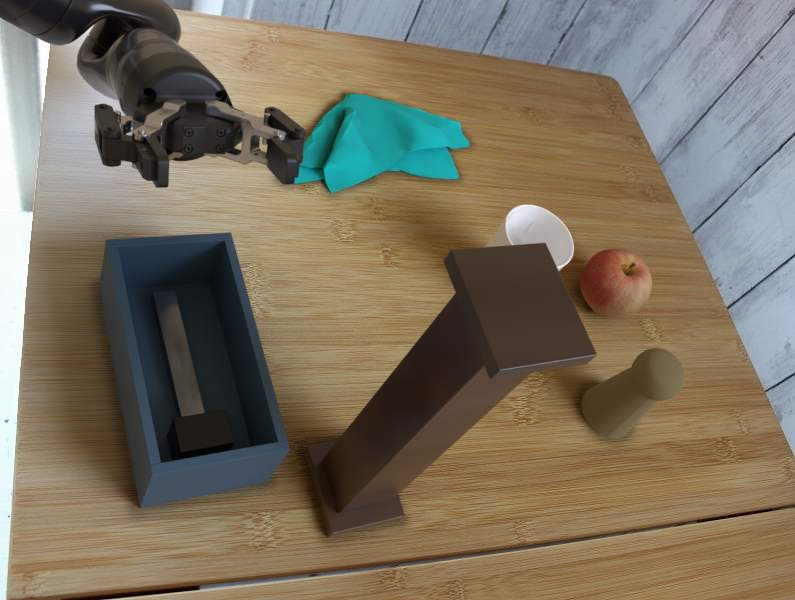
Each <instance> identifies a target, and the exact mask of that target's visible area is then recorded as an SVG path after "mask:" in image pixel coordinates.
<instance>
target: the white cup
mask: <svg viewBox="0 0 795 600" xmlns="http://www.w3.org/2000/svg"><path fill="white" fill-rule="evenodd" d="M534 243H546V245H547V247H548V249H549V251H550V253H551V255H552V258H553V260H554V262H555V264H556V266H557V268H558V271H559V272H560V271H561V270H563V269H564V268H565V267H566V266H567V265H568V263H570V262H571V260H572V259H573V256H574V252H575V251H574V250H575V245H574V239H573V236H572V234H571V232H570V230H569V229H568V227H567V225H566V224H565V223H564V222H563V221H562V219H560V217H558V216H557V215H555V214H554V213H553V212H551V211H550V210H548V209H546V208H544V207H542V206H538V205H536V204H530V203H529V204H519V205H516V206H514V207H512V208H511V209H510V210H509V211H508V213H506V215H505V217H504V218H503V220H502V221H501V222H500V224H499V226H498V227H497V229H496V230H495V231H494V233H493V234H492V236H491V237H490V238H489V240H488V241H487V243H486V244H485V246H484V247H494V246H508V245H521V244H534Z"/></svg>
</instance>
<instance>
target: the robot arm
mask: <svg viewBox="0 0 795 600" xmlns="http://www.w3.org/2000/svg"><path fill="white" fill-rule="evenodd" d="M0 19H2V20H4V21H5V22H7V23H9V24H10V25H13V26H15V27H16V28H17V29H20V30H21V31H24V32H26V33H27V34H29V35H31V36H32V37H34V38H37V39H38V40H41V41H43V42H44V43H47V44H50V45H53V46H60V47H61V46H66V45H69V44H71V43H73V42H75V41H76V40H78V39H79V38H80V37H81V36H83V35H84V34H85V33H86V32H87V31H89V32H88V35H86V37H85V38H84V40H83V42H82V43H81V45H80V47H79V49H78V52H77V54H76V68H77V70H78V74H79V75H80V76H81V78H82V79H83V80H84V82H86V84H87V85H89V86H90V87H91V88H92V89H93V90H94V91H96V92H98V93H99V94H101V95H102V96H105V97H107V98H109V99H112V100H115V101H117V102H118V103H119V106H120V109H121V111H120V110H115V109H114V108H113V106H112V105H110V104H107V103H97V104H95V105H94V106H93V108H94V109H93V110H94V113H93V114H94V115H93V116H94V141H95V144H96V148H97V151H98V154H99V157H100V160H101V163H102V165H103V166H104V167H105V166H106V167H110V168H117V167H120V166H121V165H122V162H128V163H131V167H132V169H135V170H137V171H138V172H139V175H140V176H141V178H142V179H143V180H145V181H146V182H152V184H153V185H154V187H155V188H156V189H162V188H164V189H166V188H169V184H170V183H169V181H170V162H171V161H173V162H191V161H195V160H198V159H202V158H204V157H206V156H208V157H211V158H219V157H221V158H223V159H226V160H229V161H233V162H235V163H239V164H241V165H244V166H245V165H250V164H251V163H254V162H255V163H259V164H261V165H264V166H266V168H267V170H269V171H270V172H271V173H272V174H273V175H274V177H275V178H276V180H278V181H279V182H280V183H281V185H283V186H284V185H285V186H287V185H294V184H295V183H294V181H295V178H298V177H299V167H300V164H301V163H303V149H304V142H305V141H306V140H305V139H306V136H307V130H306V128H304V127H302V126H301V125H300V124H299V123H297V122H296V121H295V120H294V119H293V118H291V117H290V116H289V115H287V114H286V113H285V112H284V111H282V110H281V109H280V108H278V107H275V106H268V107H267V106H266V107H265V108H264V112H263V116H257V115H254V114H251V113H247V112H245V111H243V110H241V109H238V108H237V107H234V105H233V103H232V99H231V98H230V96H229V93H228V91H227V90H226V87H225V86H224V84H223V83H222V82H221V81H220V80H219V78H217V76H215V75H214V73H212V72H211V70H210V69H209V68H207V66H205V65H204V64H203V63H202V61H201V60H200V59H199V58H197V57H196V55H194V54H193V53H191V52H190V51H189V50H187V49H185V48H183V46H181V44H180V40H181V37H182V25H181V22H180V19H179V17H178V15H177V13H176V11H175V10H174V9H173V8H172V7H171V5H170V4H169V3H167V2H166V1H164V0H0ZM89 29H90V30H89ZM122 113H123V114H124V115H122ZM129 133H131V135H130V134H129ZM260 143H261V145H264V146H266V151H263V150H262V149H261V147H260ZM239 144H241V149H239V148H236V147H237V146H238V145H239Z"/></svg>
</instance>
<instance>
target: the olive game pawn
mask: <svg viewBox="0 0 795 600" xmlns="http://www.w3.org/2000/svg"><path fill="white" fill-rule="evenodd" d="M685 382H686V371H685V367H684V365H683V363H682V362H681V361H680V360H679V358H678V357H677V355H675V354H674V353H672V352H671V351H669V350H668V349H665V348H660V347H653V348H648V349H645V350H643V351H642V352H640V353H639V354H638V355H637V356H636V358H635V359H634V360H633V362H632V363H631V366H630V367H629V368H626V369H625V370H622V371H621V372H619V373H617V374H615V375H613V376H610V377H609V378H607V379H605V380H603V381H601V382H599V383H598V384H596V385H594V386H591V387H590V388H589V389H587V390H586V391H585V392H584V393H583V395H582V397H581V402H580V406H581V413H582V415H583V418H584V420H585V422H586V423H587V424H588V426H589V427H590V428H591V429H592V430H593V431H594V432H595V433H596V434H598V435H600V436H601V437H603V438H605V439H611V440H615V439H621V438H622V437H624V436H625V435H627V433H629V432H630V430H632V428H634V427H635V426H636V425H637V424H638V422H640V421H641V420H642V419H643V418H644V417H645V416H646V415H647V414H648V413H649V412H650V411H651V410H652V409H653V407H654V406H656V405H657V403H658V402H662V401H663V402H664V401H668V400H671V399H673V398H674V397H676V396H677V395H678V394H680V393H681V391H682V390H683V388H684V386H685Z"/></svg>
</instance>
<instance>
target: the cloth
mask: <svg viewBox="0 0 795 600" xmlns="http://www.w3.org/2000/svg"><path fill="white" fill-rule="evenodd" d="M470 144H471V143H470V141H469V140H468V138H467V137H466V135H465V134H464V133H463V130H462V125H461V122H459V121H457V120H455V119H452V118H451V119H450V118H447V117H446V116H445V117H444V116H441V115H438V114H433V113H430V112H427V111H425V110H423V109H420V108H417V107H413V106H406V105H403V104H401V103H398V102H396V101H393V100H387V99H386V100H384V99H380V98H376V97H374V96H370V95H367V94H361V93H348V94H346V95H345V96H344V98H343V99H342V100H341V101H339V102H338V103H337V104H336V105H334V106H333V107H332V108H331V109H330V110H329V111H327V113H326V114H324V115H323V116H322V117H321V119H320V120H319V122H318V123H317V124H316V125H315V126H314V128H313V130H312V131H311V133H310V135H309V136H308V137H307V139H306V140H304V149H303V163H301V164H300V167H299V177H298V178H295V181H294V184H302V183H308V182H314V181H320V180H321V181H322V180H324V183H325V185H326V187H327V189H328V191H329V193H330V194H333V193H336V192H338V191H342V190H344V189H347V188H350V187H353V186H355V185H357V184H360V183H362V182H364V181H366V180H369V179H371V178H373V177H375V176H377V175H379V174H381V173H384V172H388V171H389V172H400V171H401V172H404V173H407V174H409V175H412V176H416V177H417V176H418V177H423V178H431V179H440V180H458V179H459V177H460V176H459V175H460V174H459V172H458V169H457V167H456V165H455V161H454V159H453V157H452V155H451V153H450V152H449V150H448V148H449V149H451V150H457V149H462V148H468V147H470Z"/></svg>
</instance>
